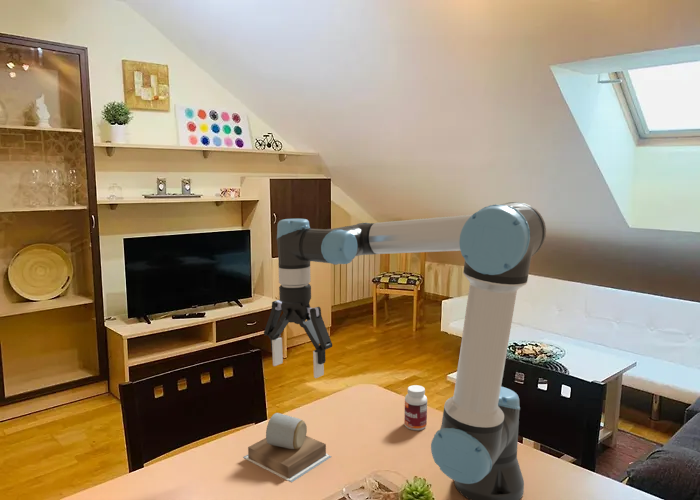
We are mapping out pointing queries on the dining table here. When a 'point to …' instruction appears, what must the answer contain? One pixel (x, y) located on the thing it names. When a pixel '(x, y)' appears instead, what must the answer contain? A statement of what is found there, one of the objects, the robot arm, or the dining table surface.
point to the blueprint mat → (297, 473)
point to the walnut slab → (287, 456)
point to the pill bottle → (415, 408)
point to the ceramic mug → (286, 431)
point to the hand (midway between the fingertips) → (297, 370)
